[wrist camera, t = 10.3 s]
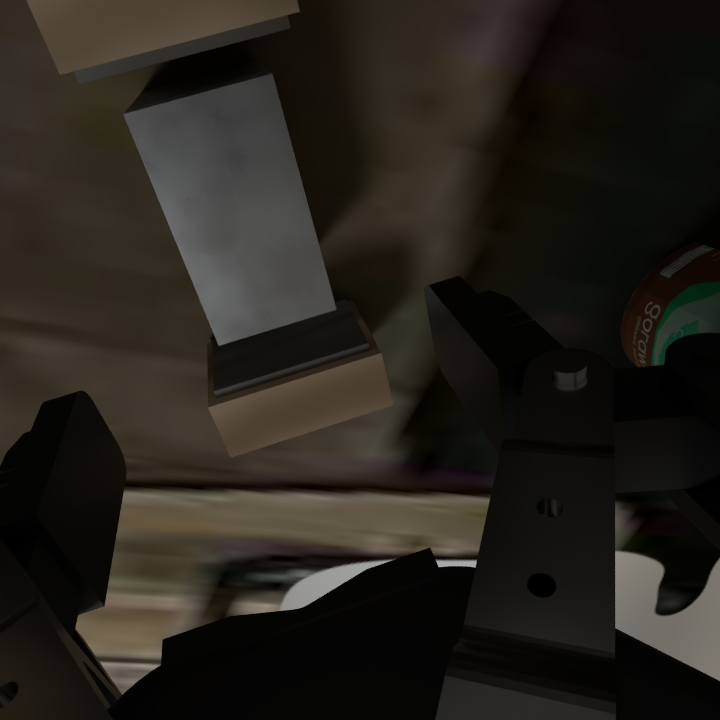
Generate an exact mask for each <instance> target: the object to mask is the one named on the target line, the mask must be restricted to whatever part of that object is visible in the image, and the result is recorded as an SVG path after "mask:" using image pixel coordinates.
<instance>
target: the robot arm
mask: <svg viewBox="0 0 720 720" xmlns="http://www.w3.org/2000/svg"><path fill="white" fill-rule="evenodd" d="M425 298H426V304H427V310H428V316H429V321H430V327H431V333H432V339H433V344H434V350H435V354H436V357H437V360H438V363H439V366H440V368H441V370H442V372H443V374H444V376H445V377H446V379H447V380H448V382H449V383H450V385H451V386H452V388H453V389H454V391H455V392H456V394H457V395H458V397H459V398H460V400H461V401H462V403H463V404H464V406H465V407H466V409H467V410H468V412H469V413H470V415H471V416H472V418H473V419H474V421H475V422H476V424H477V425H478V427H479V428H480V430H481V431H482V433H483V434H484V436H485V437H486V439H487V440H488V442H489V443H490V445H491V446H492V448H493V449H494V451H495V452H496V454H497V455H498V456H499V459H498V464H497V469H496V473H495V478H494V483H493V488H492V492H491V497H490V502H489V507H488V511H487V516H486V521H485V526H484V530H483V535H482V540H481V545H480V549H479V554H478V559H477V564H476V568H474V567H463V566H457V567H456V566H449V567H438V565H437V563H436V560H435V558H434V556H433V553H432V551H431V549H430V548H427V549H425V550H422V551H419V552H416V553H413V554H410V555H407V556H404V557H401V558H398V559H395V560H393V561H390V562H387V563H384V564H381V565H378V566H375V567H372V568H369V569H367V570H365V571H363V572H362V573H360V574H358V575H356V576H355V577H353V578H352V579H350V580H348V581H347V582H345V583H343V584H342V585H340V586H338V587H337V588H335V589H333V590H332V591H330V592H329V593H327V594H325V595H324V596H322V597H320V598H319V599H317V600H315V601H314V602H312V603H310V604H309V605H307V606H305V607H303V608H300V609H295V610H286V611H276V612H266V613H257V614H247V615H238V616H230V617H227V618H224V619H221V620H218V621H215V622H212V623H209V624H206V625H204V626H201V627H198V628H195V629H192V630H189V631H186V632H183V633H180V634H177V635H174V636H172V637H169V638H166V639H163V643H162V659H161V665H160V666H159V667H157V668H156V669H154V670H152V671H151V672H150V673H148V674H147V675H146V676H144V677H143V678H142V679H140V680H139V681H138V682H136V683H135V684H134V685H133V686H132V687H131V688H130V689H128V690H127V691H126V692H125V693H124V694H123V695H122V694H121V693H120V691H119V690H118V688H117V687H116V685H115V684H114V682H113V681H112V680H111V678H110V677H109V675H108V674H107V672H106V671H105V669H104V668H103V666H102V665H101V663H100V662H99V661H98V659H97V658H96V656H95V655H94V653H93V652H92V650H91V649H90V647H89V646H88V645H87V643H86V642H85V640H84V639H83V637H82V636H81V635H80V634H79V633H78V631H77V630H76V629H75V627H76V622H77V617H78V615H80V614H83V613H85V612H88V611H91V610H94V609H97V608H100V607H103V606H104V605H105V599H106V593H107V587H108V581H109V575H110V569H111V563H112V558H113V552H114V546H115V540H116V534H117V528H118V522H119V516H120V510H121V504H122V498H123V492H124V486H125V480H126V465H125V460H124V457H123V454H122V451H121V449H120V447H119V445H118V443H117V442H116V440H115V438H114V436H113V435H112V433H111V431H110V430H109V428H108V426H107V424H106V423H105V421H104V419H103V418H102V416H101V414H100V412H99V411H98V409H97V407H96V406H95V404H94V402H93V401H92V399H91V397H90V396H89V395H88V394H87V393H86V392H84V391H78V392H75V393H71V394H68V395H65V396H62V397H58V398H55V399H52V400H49V401H45V402H44V403H42V405H41V407H40V410H39V412H38V414H37V417H36V419H35V422H34V424H33V426H32V429H31V431H29V432H26V433H24V434H23V435H22V436H21V437H20V438H19V439H18V441H17V442H16V443H15V444H14V445H13V446H12V447H11V448H10V449H9V450H8V452H7V453H6V455H5V457H4V459H3V461H2V464H1V466H0V720H720V681H718V680H717V679H715V678H713V677H710V676H708V675H707V674H705V673H703V672H701V671H699V670H697V669H695V668H693V667H691V666H689V665H687V664H685V663H683V662H681V661H678V660H677V659H675V658H673V657H671V656H669V655H667V654H665V653H663V652H661V651H659V650H657V649H655V648H653V647H651V646H649V645H647V644H645V643H643V642H641V641H639V640H637V639H635V638H633V637H631V636H629V635H627V634H626V633H624V632H622V631H620V630H617V629H616V628H615V493H622V492H638V491H655V490H661V491H662V492H663V493H664V494H665V495H666V496H667V497H668V498H669V499H670V500H671V501H672V502H673V503H674V504H675V505H676V506H677V507H678V508H679V509H680V510H681V511H682V512H683V513H684V514H685V515H686V516H687V517H688V518H689V519H690V520H691V521H692V522H693V523H694V524H695V525H696V526H697V527H698V528H699V529H700V530H701V531H702V532H703V533H704V534H705V535H706V536H707V537H708V538H709V539H710V540H711V541H712V542H713V543H714V544H715V545H716V546H717V547H718V548H719V549H720V333H697V334H691V335H687V336H684V337H681V338H679V339H677V340H675V341H673V342H672V343H671V344H670V345H669V346H668V347H667V349H666V352H665V362H664V365H656V366H646V367H636V368H624V369H613V366H612V364H611V363H610V362H609V361H608V360H607V359H606V358H605V357H603V356H602V355H600V354H598V353H595V352H593V351H589V350H585V349H579V348H564V347H563V346H562V345H561V344H560V343H558V342H557V341H556V340H555V339H554V338H553V337H552V336H551V335H550V334H549V333H548V332H546V331H545V330H544V329H543V328H542V327H541V326H540V325H539V324H538V323H537V322H536V321H535V320H534V321H532V318H531V317H530V316H529V315H528V314H527V313H526V312H525V311H522V309H521V308H520V307H519V306H518V305H517V304H516V303H515V302H514V301H513V300H512V299H511V298H509V297H507V296H504V295H501V294H499V293H496V292H493V291H490V290H488V291H485V292H482V293H478V294H477V293H476V292H475V291H474V290H473V289H472V287H471V286H470V285H469V284H468V283H467V282H466V281H465V280H464V279H463V278H462V277H460V276H456V277H453V278H450V279H447V280H443V281H440V282H437V283H434V284H430V285H427V286H426V287H425Z"/></svg>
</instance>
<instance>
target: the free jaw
mask: <svg viewBox="0 0 720 720" xmlns="http://www.w3.org/2000/svg"><path fill="white" fill-rule="evenodd" d="M335 306H336V309H337V310H334V311H330V312H327V313H324V314H321V315H317V316H314V317H311V318H308V319H304V320H301V321H298V322H295V323H291V324H288V325H285V326H282V327H278V328H275V329H272V330H269V331H265V332H262V333H259V334H256V335H252V336H249V337H246V338H243V339H239V340H236V341H233V342H230V343H226V344H223V345H220V346H219V345H218V343H217V340H216V338H215V339H212V342H211V343H208V344H207V355H208V408H209V410H210V413H211V415H212V417H213V419H214V422H215V424H216V426H217V428H218V430H219V433H220V435H221V437H222V439H223V441H224V444H225V446H226V448H227V450H228V452H229V455H230V457H234V456H237V455H240V454H243V453H247V452H250V451H253V450H256V449H259V448H262V447H265V446H268V445H271V444H274V443H278V442H281V441H284V440H287V439H290V438H293V437H296V436H299V435H302V434H305V433H308V432H312V431H315V430H318V429H321V428H324V427H327V426H330V425H333V424H336V423H339V422H343V421H346V420H349V419H352V418H355V417H358V416H361V415H364V414H367V413H370V412H373V411H377V410H380V409H383V408H386V407H389V406H392V405H393V401H392V396H391V392H390V388H389V384H388V379H387V375H386V371H385V367H384V362H383V358H382V354H381V352H380V350H379V348H378V346H377V344H376V342H375V340H374V338H373V337H372V335H371V333H370V331H369V329H368V327H367V325H366V323H365V322H364V320H363V318H362V316H361V314H360V312H359V310H358V308H357V307H356V305H355V303H354V301H353V299H352V300H349V301H347V300H346V299H343V300H340V301H337V302H335Z"/></svg>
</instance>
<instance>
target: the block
mask: <svg viewBox="0 0 720 720" xmlns="http://www.w3.org/2000/svg"><path fill="white" fill-rule="evenodd" d="M124 117H125V119H126V122H127V124H128V126H129V129H130V131H131V134H132V136H133V139H134V141H135V144H136V146H137V148H138V151H139V153H140V156H141V158H142V161H143V163H144V165H145V168H146V170H147V173H148V175H149V178H150V180H151V182H152V185H153V187H154V190H155V192H156V195H157V197H158V199H159V202H160V204H161V207H162V209H163V212H164V214H165V216H166V219H167V221H168V224H169V226H170V229H171V231H172V233H173V236H174V238H175V241H176V243H177V246H178V248H179V250H180V253H181V255H182V258H183V260H184V263H185V265H186V267H187V270H188V272H189V275H190V277H191V280H192V282H193V284H194V287H195V289H196V292H197V294H198V297H199V299H200V301H201V304H202V306H203V309H204V311H205V314H206V316H207V319H208V321H209V323H210V326H211V328H212V331H213V333H214V336H215V338H216V340H217V343H218V345H219V346H220V345H223V344H226V343H230V342H233V341H236V340H239V339H243V338H246V337H249V336H252V335H256V334H259V333H262V332H265V331H269V330H272V329H275V328H278V327H282V326H285V325H288V324H291V323H295V322H298V321H301V320H304V319H308V318H311V317H314V316H317V315H321V314H324V313H327V312H330V311H334V310H337V309H336V306H335V302H334V298H333V295H332V291H331V287H330V283H329V280H328V276H327V272H326V269H325V265H324V261H323V258H322V254H321V250H320V247H319V243H318V239H317V236H316V232H315V228H314V225H313V221H312V217H311V214H310V210H309V206H308V203H307V199H306V195H305V192H304V188H303V184H302V180H301V177H300V173H299V169H298V166H297V162H296V158H295V155H294V151H293V147H292V144H291V140H290V136H289V133H288V129H287V125H286V122H285V118H284V114H283V111H282V107H281V103H280V100H279V96H278V92H277V89H276V85H275V81H274V78H273V74H272V73H271V72H270V71H268V70H267V69H266V68H265V67H263V66H262V65H261V64H260V63H258V62H257V61H254V62H250V63H247V64H243V65H239V66H236V67H232V68H228V69H224V70H221V71H217V72H213V73H210V74H206V75H202V76H198V77H195V78H191V79H187V80H184V81H180V82H176V83H172V84H169V85H165V86H161V87H158V88H154V89H150V90H146V91H143V92H141V94H140V95H139V96H138V97H137V98H136V100H135V101H134V102H133V103H132V104H131V106H130V107H129V108H128V109H127V110H126V112H125V113H124Z"/></svg>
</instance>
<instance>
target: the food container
mask: <svg viewBox="0 0 720 720" xmlns="http://www.w3.org/2000/svg"><path fill="white" fill-rule="evenodd" d="M697 333H720V250H718V249H715V248H712V247H709V246H706V245H703V244H699V243H696V242H693V243H691V244H689V245H687V246H684V247H682V248H680V249H678V250H676V251H675V252H673V253H672V254H671V255H669V256H668V257H667V258H665V259H664V260H663V261H661V262H660V263H659V264H657V265H656V266H655V267H654V268H653V269H652V270H651V271H650V272H649V274H648V275H647V276H646V277H645V278H644V279H643V280H642V282H641V283H640V284H639V285H638V286H637V288H636V290H635V292H634V293H633V295H632V297H631V299H630V301H629V303H628V305H627V307H626V308H625V312H624V316H623V320H622V324H621V340H622V345H623V348H624V351H625V353H626V355H627V356H628V358H629V359H630V360H631V361H632V362H633V363H634V364H635V365H636V366H637V367H646V366H656V365H664V362H665V352H666V349H667V347H668V346H669V345H670V344H671V343H672V342H673V341H675V340H677V339H679V338H681V337H684V336H687V335H691V334H697Z"/></svg>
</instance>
